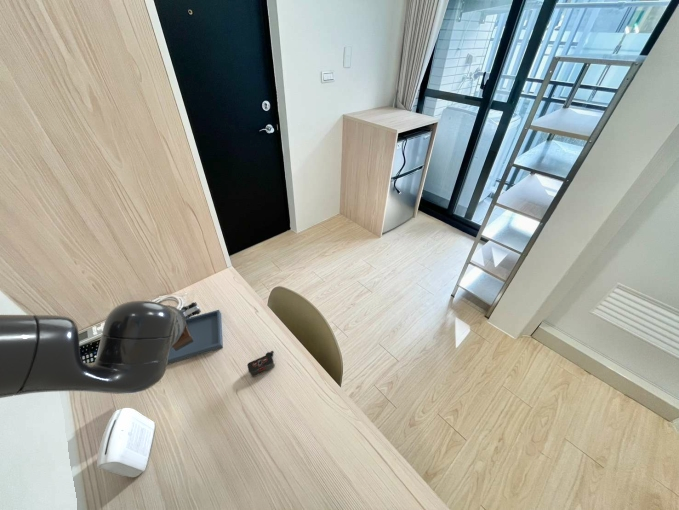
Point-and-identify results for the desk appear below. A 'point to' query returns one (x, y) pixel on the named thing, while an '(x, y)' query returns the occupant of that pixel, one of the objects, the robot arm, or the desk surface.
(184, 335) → the brown wooden block
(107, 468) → the photo printer
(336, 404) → the desk surface
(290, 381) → the desk surface
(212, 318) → the tray
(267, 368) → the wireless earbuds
